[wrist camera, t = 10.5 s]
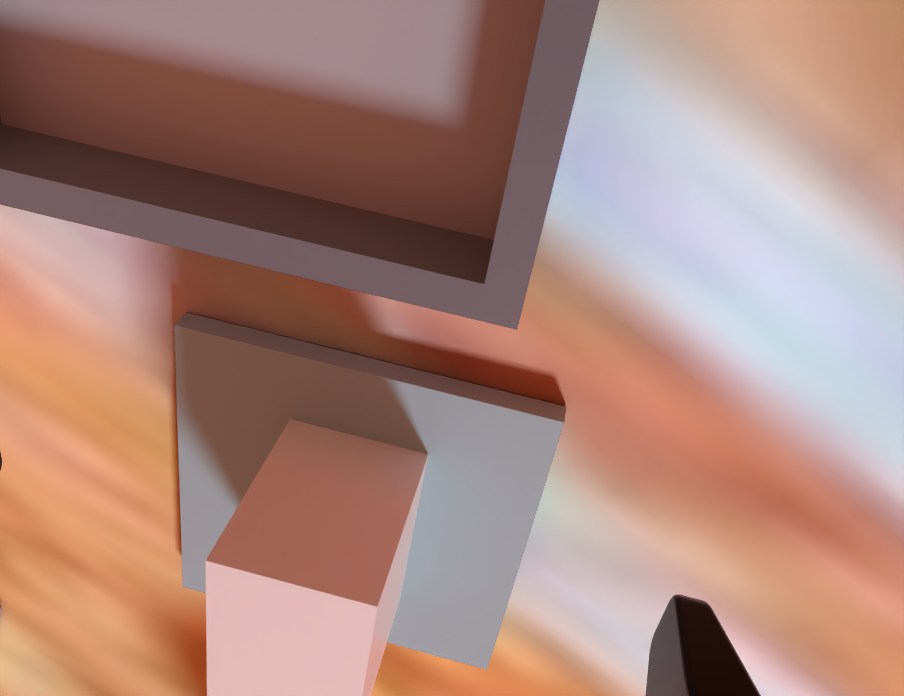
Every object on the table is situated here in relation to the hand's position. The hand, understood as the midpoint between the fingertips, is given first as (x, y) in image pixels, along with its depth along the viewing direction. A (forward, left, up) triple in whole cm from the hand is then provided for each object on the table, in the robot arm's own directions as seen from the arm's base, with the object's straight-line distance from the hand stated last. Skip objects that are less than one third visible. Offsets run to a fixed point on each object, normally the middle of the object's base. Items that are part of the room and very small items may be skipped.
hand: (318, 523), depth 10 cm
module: (+2, +12, -12) cm, 17 cm away
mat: (+2, +12, -13) cm, 18 cm away
